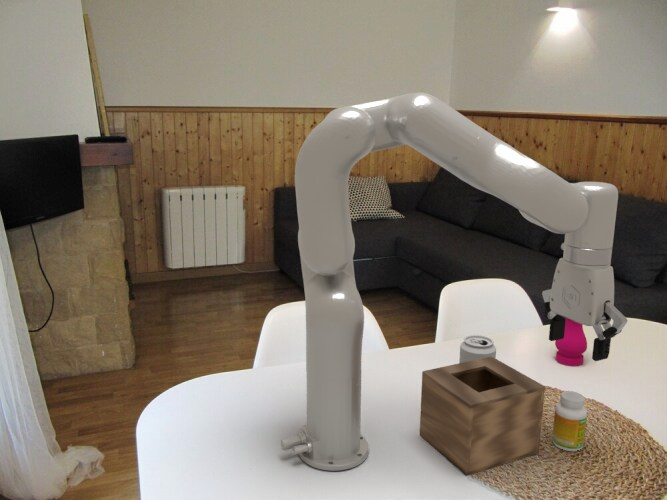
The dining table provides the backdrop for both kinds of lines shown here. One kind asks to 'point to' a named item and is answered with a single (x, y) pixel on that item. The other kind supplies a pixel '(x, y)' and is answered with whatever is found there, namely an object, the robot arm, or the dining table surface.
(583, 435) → the supplement bottle
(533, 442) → the drop box
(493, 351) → the can
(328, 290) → the robot arm
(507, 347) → the dining table surface
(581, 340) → the pepper mill
